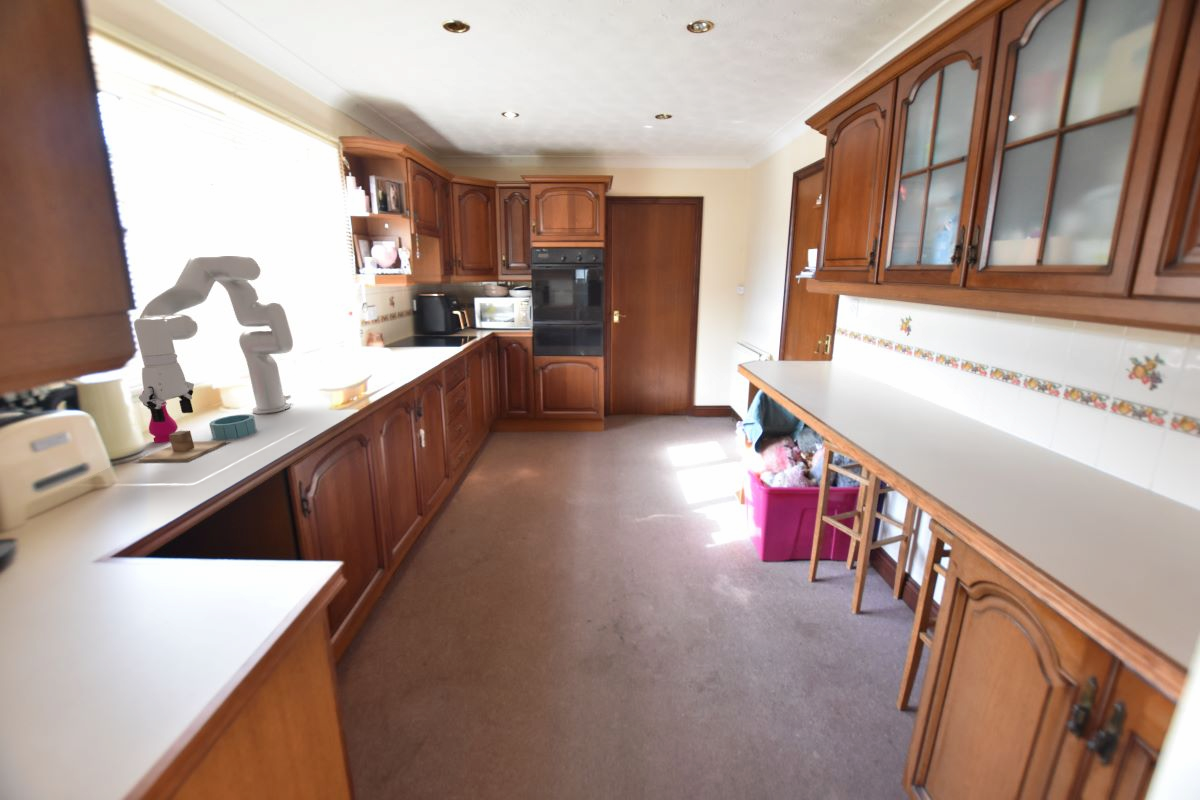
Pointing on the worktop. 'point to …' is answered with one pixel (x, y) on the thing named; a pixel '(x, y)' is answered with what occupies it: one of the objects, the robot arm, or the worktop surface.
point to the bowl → (233, 427)
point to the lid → (182, 448)
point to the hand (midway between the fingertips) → (174, 417)
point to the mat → (186, 461)
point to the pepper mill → (162, 426)
